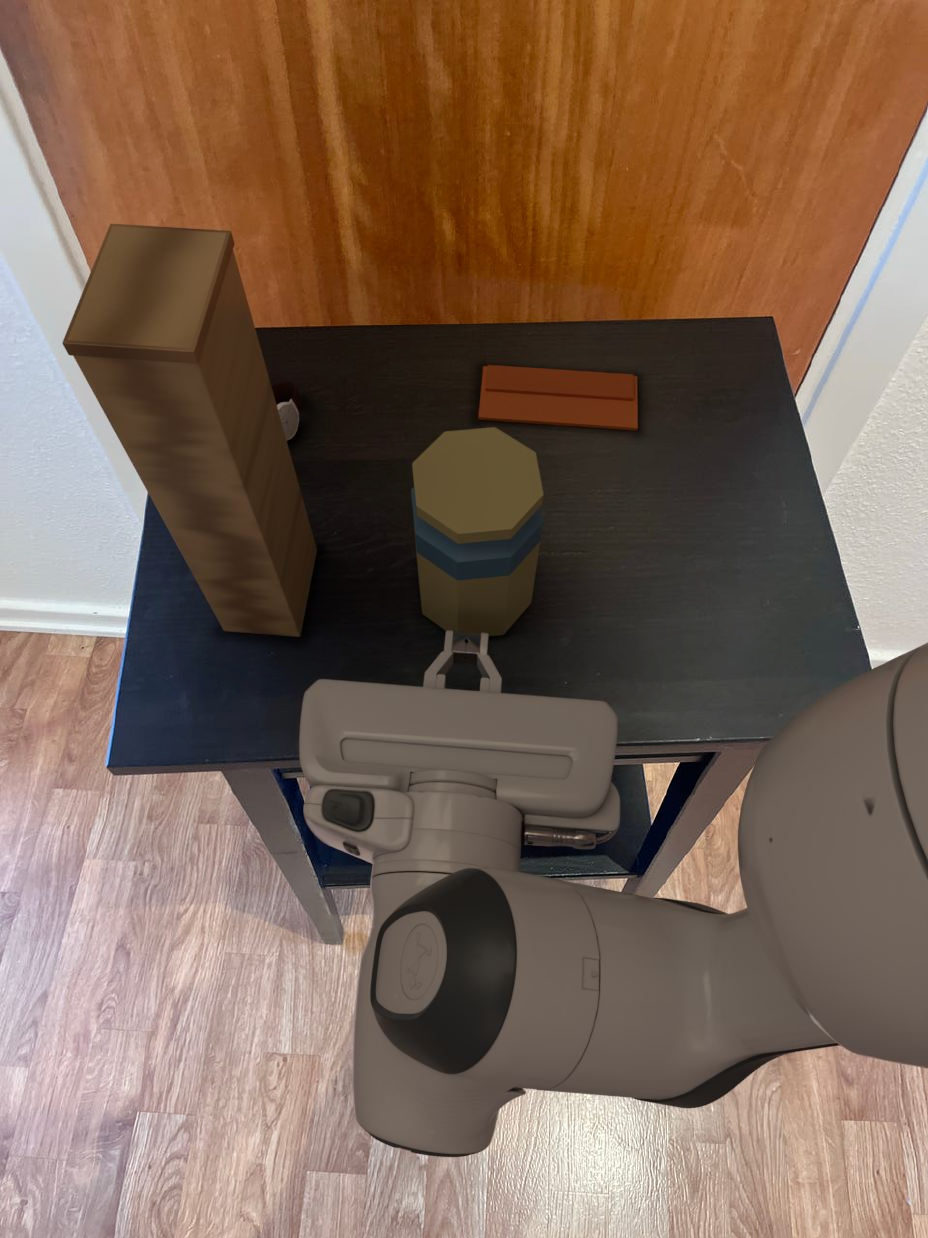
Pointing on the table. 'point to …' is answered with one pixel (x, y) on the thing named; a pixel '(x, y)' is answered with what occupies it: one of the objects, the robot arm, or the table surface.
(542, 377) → the cloth
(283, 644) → the table surface
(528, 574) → the jar
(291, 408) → the watch
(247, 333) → the tall box
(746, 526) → the table surface
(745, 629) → the table surface
